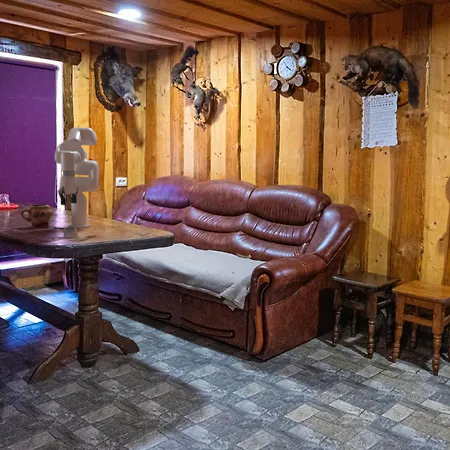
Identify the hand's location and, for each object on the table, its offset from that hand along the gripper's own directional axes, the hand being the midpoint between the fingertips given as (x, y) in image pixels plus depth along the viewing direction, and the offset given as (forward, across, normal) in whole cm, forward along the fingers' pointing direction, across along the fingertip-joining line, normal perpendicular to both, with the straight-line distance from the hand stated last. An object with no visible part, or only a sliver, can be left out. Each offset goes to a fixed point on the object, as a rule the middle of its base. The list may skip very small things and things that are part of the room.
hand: (68, 204), depth 296 cm
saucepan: (+18, +5, +1) cm, 18 cm away
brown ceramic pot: (+19, -16, -35) cm, 43 cm away
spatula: (+18, +6, +14) cm, 24 cm away
